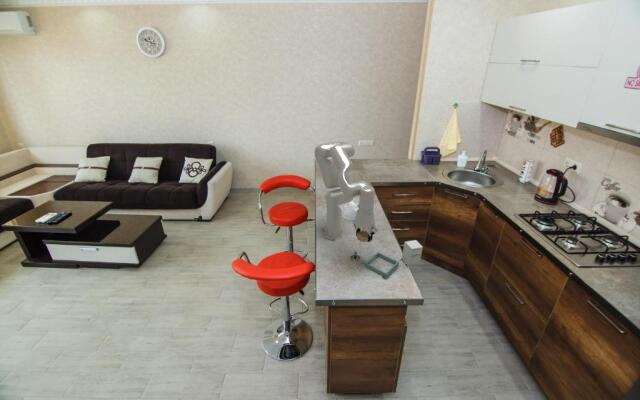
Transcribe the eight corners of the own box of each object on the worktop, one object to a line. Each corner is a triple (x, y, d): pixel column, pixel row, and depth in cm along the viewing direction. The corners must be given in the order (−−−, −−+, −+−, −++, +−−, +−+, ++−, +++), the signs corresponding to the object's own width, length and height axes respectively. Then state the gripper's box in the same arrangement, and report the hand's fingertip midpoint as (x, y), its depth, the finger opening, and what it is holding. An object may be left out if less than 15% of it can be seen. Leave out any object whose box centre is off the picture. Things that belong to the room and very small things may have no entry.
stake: (347, 259, 175) (348, 252, 173) (353, 254, 179) (354, 247, 177) (356, 263, 172) (357, 256, 170) (362, 259, 176) (363, 252, 174)
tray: (364, 267, 169) (364, 263, 168) (377, 256, 178) (377, 251, 177) (385, 279, 161) (386, 274, 160) (398, 266, 170) (399, 262, 169)
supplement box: (407, 267, 170) (411, 248, 164) (401, 259, 176) (404, 241, 170) (419, 265, 172) (423, 246, 166) (412, 257, 178) (416, 239, 172)
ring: (354, 238, 166) (355, 233, 165) (362, 233, 171) (362, 228, 170) (365, 243, 162) (365, 238, 161) (372, 238, 167) (373, 233, 165)
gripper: (348, 206, 161) (347, 235, 169) (376, 217, 151) (373, 247, 159) (356, 202, 166) (355, 229, 174) (384, 212, 156) (381, 241, 164)
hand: (363, 237), depth 166 cm, fingers closed on ring, 7 cm apart
